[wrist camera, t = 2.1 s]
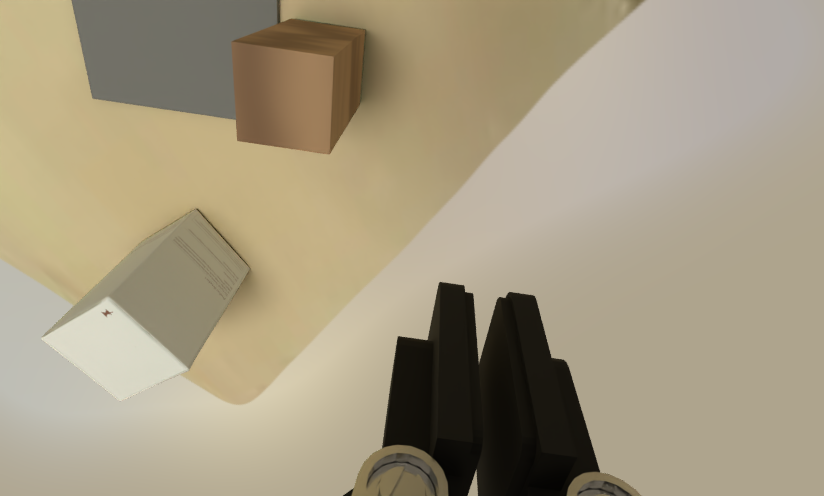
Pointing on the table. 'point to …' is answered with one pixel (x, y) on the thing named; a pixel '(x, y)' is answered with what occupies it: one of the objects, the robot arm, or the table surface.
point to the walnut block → (297, 84)
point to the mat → (167, 50)
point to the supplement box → (152, 309)
